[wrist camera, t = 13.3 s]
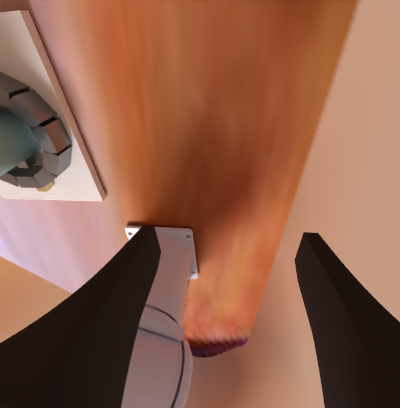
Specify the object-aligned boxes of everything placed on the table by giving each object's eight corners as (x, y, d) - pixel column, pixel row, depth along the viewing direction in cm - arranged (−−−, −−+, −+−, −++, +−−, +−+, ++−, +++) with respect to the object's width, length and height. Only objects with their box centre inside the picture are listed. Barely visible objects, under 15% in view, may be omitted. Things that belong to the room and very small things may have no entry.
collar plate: (106, 196, 24) (93, 214, 21) (8, 194, 25) (-13, 210, 23) (28, 10, 14) (-9, 8, 12) (-119, 26, 16) (-174, 27, 14)
